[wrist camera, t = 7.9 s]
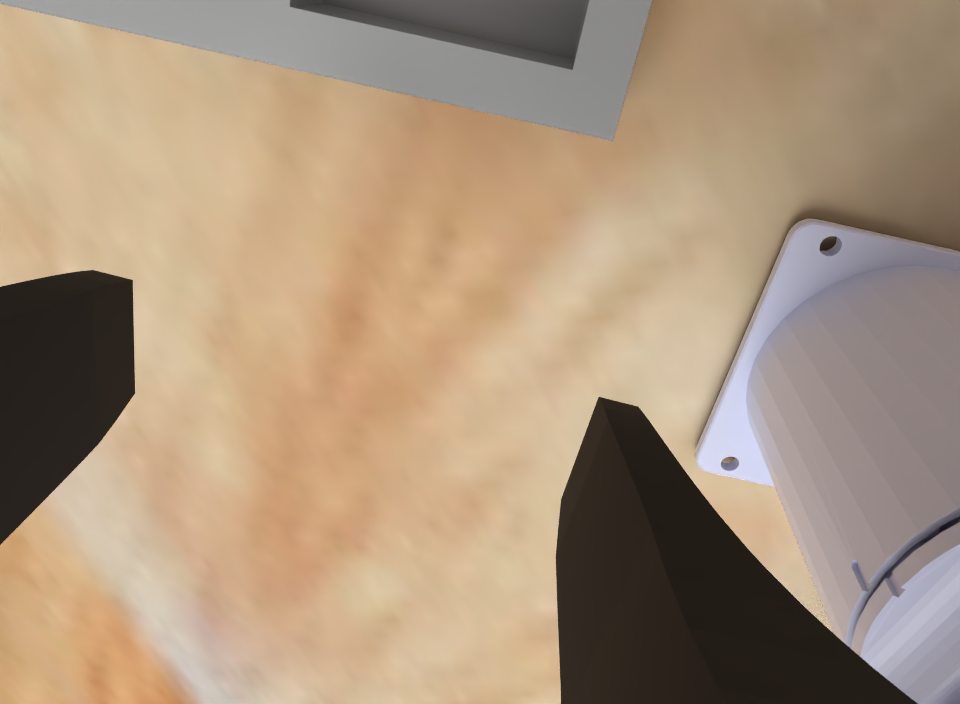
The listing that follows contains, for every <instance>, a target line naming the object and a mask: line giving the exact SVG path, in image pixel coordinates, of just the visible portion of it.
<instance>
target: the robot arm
mask: <svg viewBox="0 0 960 704" xmlns="http://www.w3.org/2000/svg"><path fill="white" fill-rule="evenodd" d="M829 236H836V237H837V240H836V244H835V245H834V246H833V248H831V249H829V250H827V251H821V250H820V249H819V248H820V244H821V242H822V241H823V240H824V239H825V238H827V237H829ZM134 394H135V372H134V325H133V280H130V279H126V278H122V277H118V276H114V275H110V274H106V273H102V272H98V271H94V270H90V271H80V272H72V273H66V274H60V275H55V276H49V277H44V278H39V279H35V280H30V281H25V282H20V283H16V284H11V285H7V286H2V287H0V545H1V544H2V543H3V541H4V540H5V539H6V538H7V537H8V536H9V535H10V534H11V533H12V532H13V531H14V530H15V529H16V528H17V527H18V526H19V525H20V524H21V523H22V522H23V521H24V520H25V519H26V518H27V517H28V516H29V515H30V514H31V513H32V512H33V511H34V510H35V509H36V508H37V507H38V506H39V505H40V504H41V503H42V502H43V501H44V500H45V499H46V498H47V497H48V496H49V495H50V494H51V493H52V492H53V491H54V490H55V489H56V488H57V487H58V486H59V485H60V484H61V483H62V482H63V480H64V479H65V478H66V477H67V476H68V475H69V474H70V473H71V472H72V471H73V470H74V469H75V468H76V467H77V466H78V465H79V464H80V463H81V462H82V461H83V460H84V459H85V458H86V457H87V456H88V454H89V453H90V452H91V451H92V450H93V449H94V448H95V447H96V446H97V445H98V444H99V442H100V441H101V440H102V439H103V437H104V436H105V435H106V433H107V432H108V431H109V429H110V428H111V427H112V425H113V424H114V423H115V421H116V420H117V418H118V417H119V415H120V414H121V413H122V411H123V410H124V408H125V407H126V405H127V404H128V402H129V401H130V400H131V398H132V397H133V395H134ZM726 457H735V459H734V461H732V462H730V463H724V462H722V460H723V459H724V458H726ZM695 458H696V462H697V465H698V466H699V467H700V468H701V469H702V470H704V471H706V472H710V473H714V474H719V475H723V476H727V477H732V478H736V479H741V480H745V481H750V482H754V483H758V484H763V485H767V486H772V487H775V489H776V491H777V494H778V496H779V498H780V501H781V503H782V506H783V508H784V511H785V513H786V516H787V518H788V521H789V523H790V526H791V528H792V531H793V533H794V536H795V538H796V540H797V543H798V545H799V548H800V550H801V553H802V555H803V558H804V560H805V563H806V565H807V568H808V570H809V573H810V575H811V578H812V580H813V582H814V585H815V587H816V590H817V592H818V595H819V597H820V600H821V602H822V605H823V607H824V610H825V612H826V615H827V617H828V620H829V622H830V624H831V627H832V629H833V632H834V634H833V633H832V632H831V631H830V630H829V629H828V628H827V627H825V626H824V625H823V624H822V623H821V622H820V621H819V620H818V619H817V618H816V617H815V616H814V615H812V614H811V613H810V612H809V611H808V610H807V609H806V608H805V607H804V606H803V605H802V604H801V603H800V602H799V601H798V600H797V599H796V598H795V597H794V596H793V595H792V594H791V593H790V592H789V591H788V590H787V589H786V588H785V587H784V586H783V585H782V584H781V583H780V582H779V581H778V580H777V579H776V578H775V577H774V576H773V575H772V574H771V573H770V572H769V571H768V570H767V569H766V568H765V567H764V566H763V565H762V564H761V563H760V562H759V561H758V559H757V558H756V557H755V556H754V555H753V554H752V553H751V552H750V551H749V550H748V549H747V547H746V546H745V545H744V544H743V543H742V542H741V540H740V539H739V538H738V537H737V536H736V535H735V533H734V532H733V531H732V530H731V529H730V528H729V526H728V525H727V524H726V523H725V522H724V520H723V519H722V518H721V517H720V516H719V515H718V513H717V512H716V511H715V510H714V508H713V507H712V506H711V505H710V503H709V502H708V501H707V500H706V498H705V497H704V496H703V494H702V493H701V492H700V490H699V489H698V488H697V487H696V485H695V484H694V483H693V481H692V480H691V479H690V477H689V476H688V475H687V473H686V472H685V470H684V469H683V468H682V466H681V465H680V464H679V462H678V461H677V460H676V458H675V457H674V455H673V454H672V452H671V451H670V450H669V448H668V447H667V445H666V444H665V443H664V441H663V440H662V438H661V437H660V436H659V434H658V433H657V431H656V430H655V429H654V427H653V426H652V424H651V423H650V422H649V420H648V419H647V417H646V416H645V415H644V413H643V412H642V411H641V410H640V408H639V407H637V406H633V405H629V404H625V403H621V402H617V401H613V400H609V399H605V398H601V397H599V398H598V400H597V403H596V406H595V409H594V411H593V414H592V417H591V420H590V422H589V425H588V428H587V430H586V433H585V436H584V439H583V441H582V444H581V447H580V450H579V452H578V455H577V458H576V461H575V463H574V466H573V469H572V471H571V474H570V477H569V480H568V482H567V485H566V488H565V491H564V493H563V496H562V499H561V508H560V517H559V527H558V538H557V550H556V576H557V605H558V630H559V654H560V679H561V704H960V251H957V250H952V249H948V248H943V247H939V246H935V245H930V244H926V243H921V242H917V241H912V240H908V239H903V238H899V237H894V236H890V235H885V234H881V233H876V232H872V231H868V230H863V229H859V228H854V227H850V226H845V225H841V224H836V223H832V222H827V221H823V220H818V219H804V220H801V221H799V222H798V223H796V224H795V225H794V226H792V228H791V229H790V231H789V232H788V234H787V236H786V239H785V241H784V243H783V246H782V248H781V250H780V253H779V255H778V258H777V260H776V262H775V265H774V267H773V269H772V272H771V274H770V276H769V279H768V281H767V283H766V286H765V288H764V290H763V293H762V295H761V297H760V300H759V302H758V304H757V307H756V309H755V311H754V314H753V316H752V318H751V321H750V323H749V325H748V328H747V330H746V332H745V335H744V337H743V339H742V342H741V344H740V346H739V349H738V351H737V353H736V356H735V358H734V360H733V363H732V365H731V367H730V370H729V372H728V374H727V377H726V379H725V381H724V384H723V386H722V388H721V391H720V393H719V395H718V398H717V400H716V402H715V405H714V407H713V410H712V412H711V414H710V417H709V419H708V421H707V424H706V426H705V428H704V431H703V433H702V435H701V438H700V440H699V442H698V445H697V447H696V449H695Z"/></svg>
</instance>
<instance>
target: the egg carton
mask: <svg viewBox="0 0 960 704" xmlns="http://www.w3.org/2000/svg"><path fill="white" fill-rule="evenodd" d="M0 4H3V5H8V6H12V7H17V8H21V9H26V10H30V11H35V12H39V13H44V14H48V15H52V16H57V17H61V18H66V19H70V20H75V21H79V22H84V23H88V24H93V25H97V26H102V27H106V28H111V29H115V30H120V31H124V32H128V33H133V34H137V35H142V36H146V37H151V38H155V39H160V40H164V41H169V42H173V43H178V44H182V45H187V46H191V47H196V48H200V49H205V50H209V51H213V52H218V53H222V54H227V55H231V56H236V57H240V58H245V59H249V60H254V61H258V62H263V63H267V64H272V65H276V66H281V67H285V68H289V69H294V70H298V71H303V72H307V73H312V74H316V75H321V76H325V77H330V78H334V79H339V80H343V81H348V82H352V83H357V84H361V85H365V86H370V87H374V88H379V89H383V90H388V91H392V92H397V93H401V94H406V95H410V96H415V97H419V98H424V99H428V100H433V101H437V102H442V103H446V104H450V105H455V106H459V107H464V108H468V109H473V110H477V111H482V112H486V113H491V114H495V115H500V116H504V117H509V118H513V119H518V120H522V121H526V122H531V123H535V124H540V125H544V126H549V127H553V128H558V129H562V130H567V131H571V132H576V133H580V134H585V135H589V136H594V137H598V138H603V139H607V140H611V141H613V139H614V135H615V132H616V128H617V125H618V121H619V117H620V114H621V110H622V107H623V103H624V100H625V96H626V93H627V89H628V85H629V82H630V78H631V75H632V71H633V68H634V64H635V61H636V57H637V53H638V50H639V46H640V43H641V39H642V36H643V32H644V29H645V25H646V21H647V18H648V14H649V11H650V7H651V4H652V0H0Z"/></svg>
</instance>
